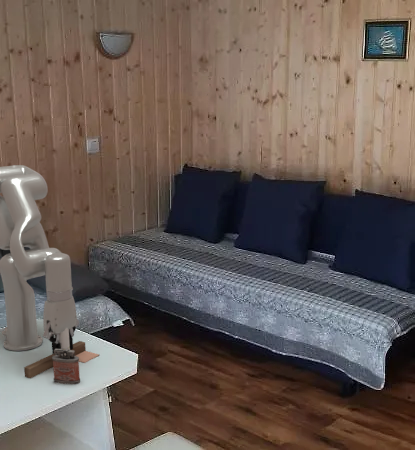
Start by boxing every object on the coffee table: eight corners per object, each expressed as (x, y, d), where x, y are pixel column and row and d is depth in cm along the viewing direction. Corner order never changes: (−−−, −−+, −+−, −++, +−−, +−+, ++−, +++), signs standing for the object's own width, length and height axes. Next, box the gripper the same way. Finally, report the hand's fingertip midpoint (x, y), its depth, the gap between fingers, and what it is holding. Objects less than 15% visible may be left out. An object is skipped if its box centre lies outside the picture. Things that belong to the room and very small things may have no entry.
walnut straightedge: (24, 376, 201) (24, 367, 201) (80, 349, 221) (79, 340, 221) (30, 378, 200) (29, 369, 199) (85, 350, 220) (85, 342, 219)
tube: (67, 367, 205) (64, 320, 202) (54, 366, 206) (51, 319, 203) (72, 361, 210) (70, 316, 206) (59, 360, 210) (57, 315, 207)
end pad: (70, 359, 214) (70, 358, 214) (85, 351, 219) (85, 350, 219) (84, 363, 210) (84, 362, 210) (99, 355, 216) (99, 354, 216)
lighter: (82, 380, 199) (80, 348, 197) (77, 385, 195) (75, 352, 193) (56, 378, 200) (54, 346, 198) (51, 382, 197) (49, 350, 195)
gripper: (70, 285, 212) (73, 340, 216) (29, 300, 198) (33, 358, 202) (88, 289, 208) (90, 345, 212) (47, 304, 194) (51, 364, 198)
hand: (62, 350), depth 207 cm, fingers closed on tube, 4 cm apart
